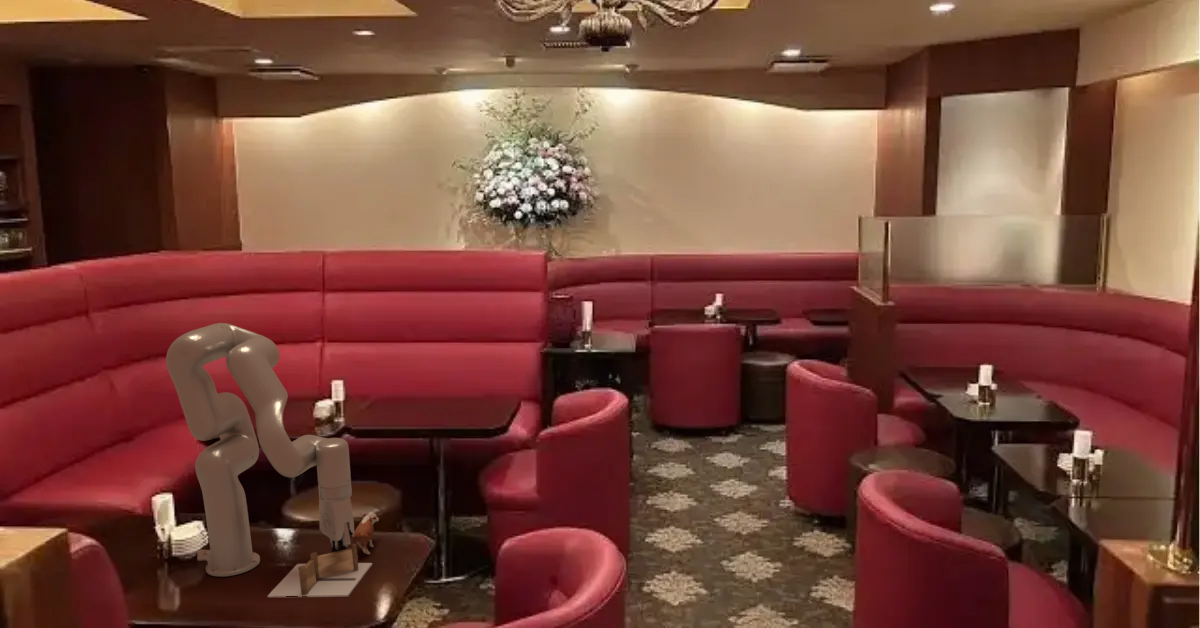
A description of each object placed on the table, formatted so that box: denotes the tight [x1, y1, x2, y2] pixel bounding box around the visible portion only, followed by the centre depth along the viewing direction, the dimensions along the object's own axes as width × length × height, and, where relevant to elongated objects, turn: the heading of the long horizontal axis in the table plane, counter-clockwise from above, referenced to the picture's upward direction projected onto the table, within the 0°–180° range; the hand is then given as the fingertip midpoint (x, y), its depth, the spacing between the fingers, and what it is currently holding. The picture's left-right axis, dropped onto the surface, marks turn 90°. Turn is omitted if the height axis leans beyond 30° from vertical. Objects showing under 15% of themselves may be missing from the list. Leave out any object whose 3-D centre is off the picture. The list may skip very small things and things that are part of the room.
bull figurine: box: [352, 511, 380, 559], centre depth 240 cm, size 4×13×8 cm, turn 174°
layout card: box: [267, 562, 373, 598], centre depth 224 cm, size 19×17×1 cm
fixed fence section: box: [298, 559, 316, 595], centre depth 219 cm, size 2×6×6 cm, turn 175°
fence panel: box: [310, 543, 359, 580], centre depth 225 cm, size 11×2×6 cm, turn 117°
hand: (340, 562), depth 229 cm, fingers closed
